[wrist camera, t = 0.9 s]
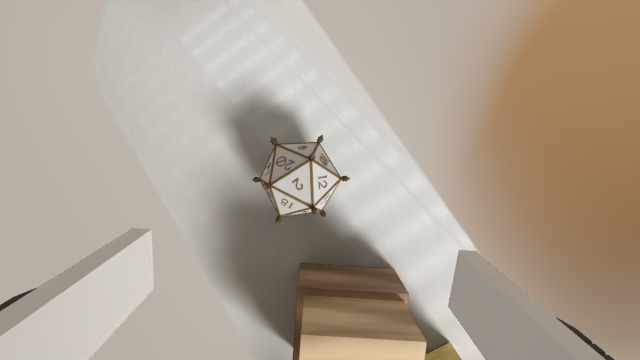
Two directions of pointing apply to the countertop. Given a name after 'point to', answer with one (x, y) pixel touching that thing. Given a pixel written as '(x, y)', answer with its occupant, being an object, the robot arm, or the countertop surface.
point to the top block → (359, 330)
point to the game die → (299, 178)
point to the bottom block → (344, 287)
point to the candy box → (443, 353)
